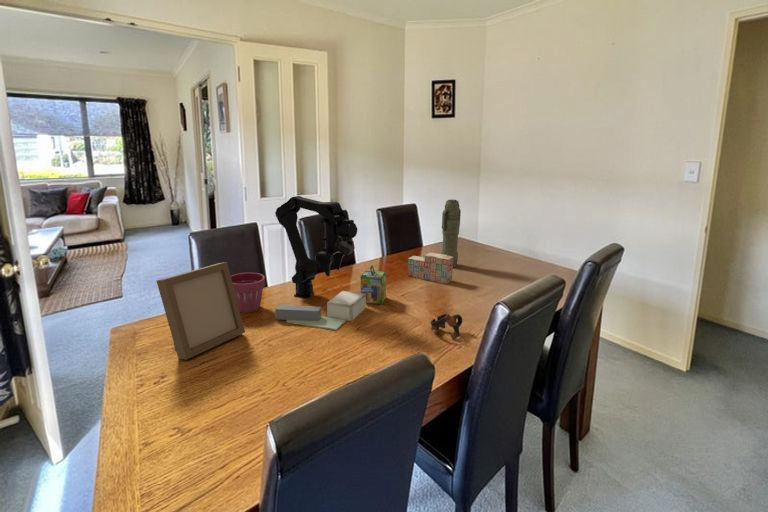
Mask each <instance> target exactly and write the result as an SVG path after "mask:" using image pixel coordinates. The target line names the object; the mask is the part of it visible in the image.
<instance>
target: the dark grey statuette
mask: <svg viewBox="0 0 768 512" xmlns="http://www.w3.org/2000/svg"><path fill="white" fill-rule="evenodd" d="M461 213H462V212H461V208H460V202H459V200H457V199H447V200H446V202H445V204H444V210H443V211H442V219H441V229H442V232H441V233H442V250H441V252H440V254H443V255H447V256H453V268H455V267H454V266H456V267H458V261H459V260H458V258H459V253H458V244H459V243H458V242H459V234H460V226H461Z"/></svg>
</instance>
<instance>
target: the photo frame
mask: <svg viewBox="0 0 768 512" xmlns="http://www.w3.org/2000/svg"><path fill="white" fill-rule="evenodd" d="M231 276H232V275H231V272H230V269H229V264H228V261H226V262H225V261H224V262H218V263H214V264H210V265H208V266H203V267H201V268H197V269H193V270H190V271H186V272H185V271H184V272H182V273H179V274H175V275H171V276H167V277H165V278H161V279H157V280H156V284H157V289H158V291H159V294H160V297H161V302H162V304H163V308H164V309H163V310H164V314H165V316H166V319H167V322H168V323H167V324H168V326H169V330H170V334H171V338H172V341H173V345H174V347H175V351H176V355H177V358H178V360H189V359H190V358H193V357H195V356H197V355H199V354H201V353H204V352H206V351H208V350H210V349H212V348H215V347H217V346H219V345H221V344H223V343H225V342H228V341H230V340H231V339H234V338H236V337H238V336H240V335H243V334H244V333H246V330H245V326H244V323H243V319H242V313H241V312H240V310H239V306H238V303H237V299H236V295H235V291H234V287H233V283H232V279H231Z"/></svg>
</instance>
